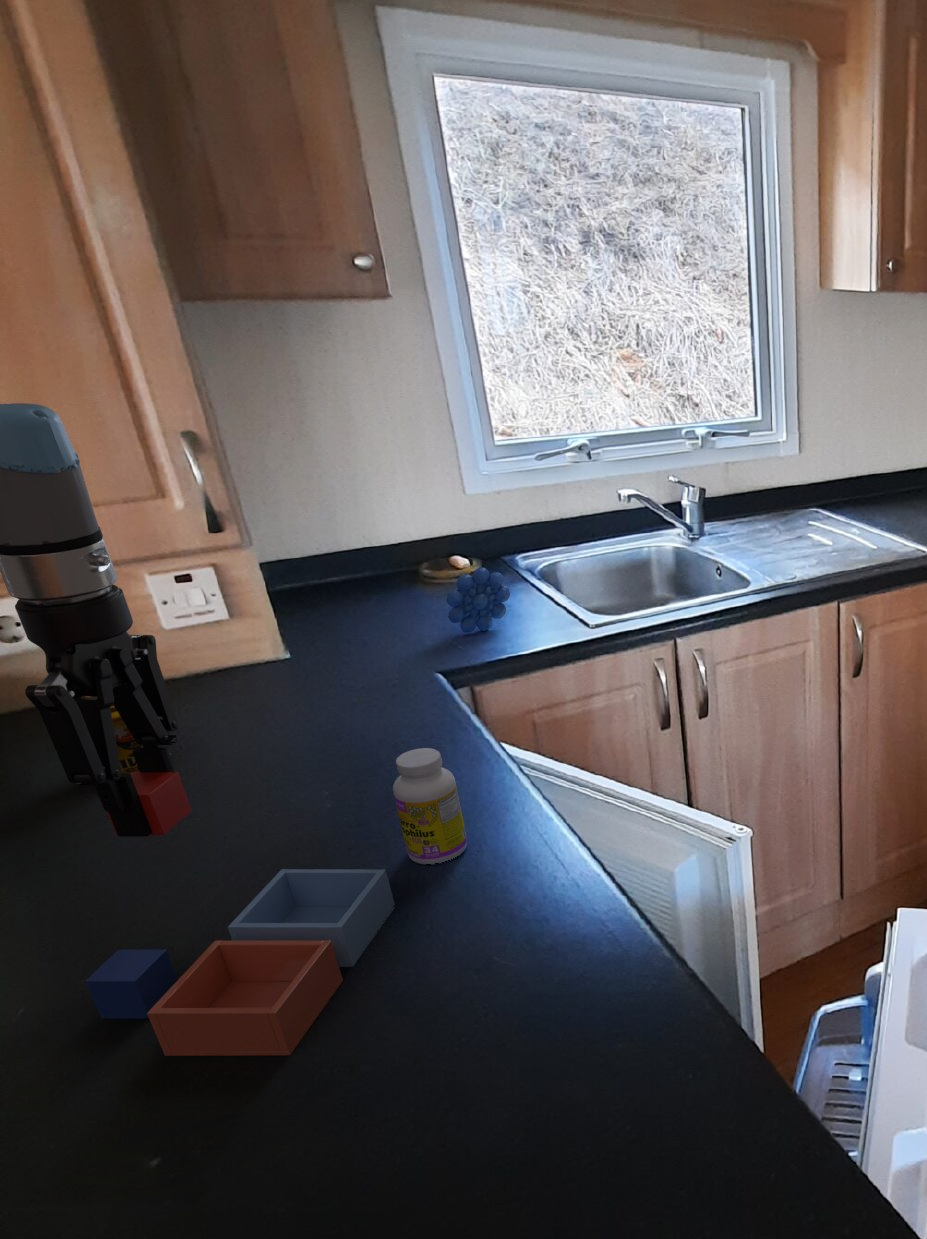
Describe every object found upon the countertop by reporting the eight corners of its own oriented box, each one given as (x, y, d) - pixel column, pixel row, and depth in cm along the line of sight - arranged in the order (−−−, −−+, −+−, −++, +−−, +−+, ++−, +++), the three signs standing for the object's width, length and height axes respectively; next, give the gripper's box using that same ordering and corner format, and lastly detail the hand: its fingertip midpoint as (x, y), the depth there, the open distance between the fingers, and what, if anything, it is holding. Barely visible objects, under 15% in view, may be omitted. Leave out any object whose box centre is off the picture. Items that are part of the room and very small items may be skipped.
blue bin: (241, 967, 97) (227, 927, 95) (293, 906, 106) (281, 868, 104) (352, 967, 97) (341, 927, 95) (395, 907, 106) (385, 869, 104)
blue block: (101, 1018, 90) (84, 981, 88) (133, 986, 94) (118, 949, 92) (150, 1018, 90) (134, 981, 88) (181, 985, 94) (166, 949, 92)
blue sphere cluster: (507, 618, 189) (497, 558, 183) (519, 628, 184) (509, 566, 179) (445, 630, 182) (433, 568, 177) (456, 640, 178) (444, 577, 172)
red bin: (164, 1056, 86) (146, 1013, 84) (229, 980, 95) (214, 940, 93) (290, 1055, 87) (275, 1013, 84) (343, 980, 95) (331, 940, 93)
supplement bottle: (395, 859, 114) (371, 764, 108) (438, 832, 120) (417, 739, 114) (440, 872, 112) (417, 775, 106) (481, 843, 118) (462, 750, 112)
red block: (116, 835, 93) (99, 795, 91) (146, 811, 97) (131, 771, 95) (164, 835, 93) (148, 794, 91) (192, 811, 97) (178, 771, 95)
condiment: (148, 779, 130) (118, 698, 125) (76, 785, 128) (43, 703, 123) (172, 755, 136) (144, 676, 131) (104, 759, 135) (73, 680, 129)
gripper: (36, 627, 77) (133, 871, 87) (174, 563, 92) (242, 777, 103) (-62, 626, 76) (47, 871, 87) (93, 562, 92) (169, 776, 103)
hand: (152, 819), depth 95 cm, fingers closed on red block, 4 cm apart
